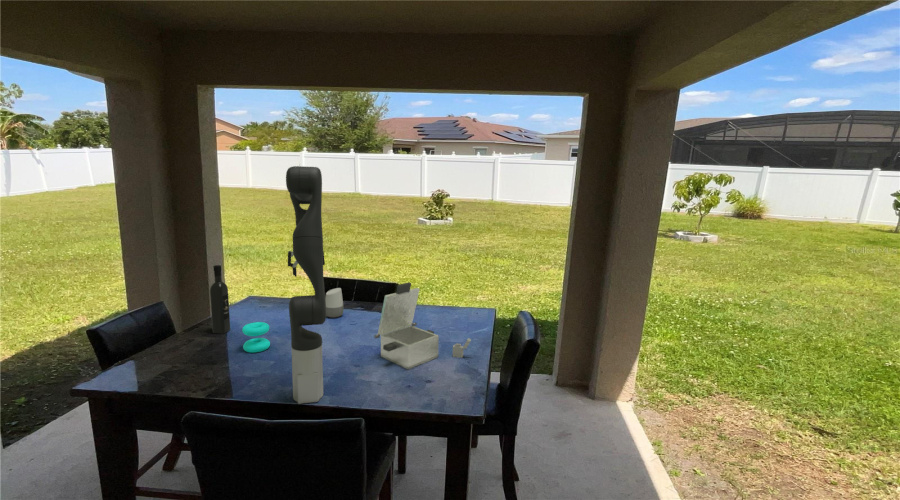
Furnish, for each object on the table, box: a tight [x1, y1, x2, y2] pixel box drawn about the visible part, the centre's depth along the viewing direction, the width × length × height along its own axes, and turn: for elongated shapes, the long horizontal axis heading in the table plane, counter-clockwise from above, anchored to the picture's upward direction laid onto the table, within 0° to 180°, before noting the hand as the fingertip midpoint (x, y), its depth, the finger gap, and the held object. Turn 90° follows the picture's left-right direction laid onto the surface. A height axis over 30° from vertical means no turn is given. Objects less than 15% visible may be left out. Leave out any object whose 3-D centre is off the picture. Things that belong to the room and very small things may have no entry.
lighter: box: [452, 337, 472, 359], centre depth 173 cm, size 7×2×8 cm, turn 76°
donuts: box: [241, 321, 271, 354], centre depth 176 cm, size 10×10×10 cm
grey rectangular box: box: [373, 322, 440, 370], centre depth 172 cm, size 17×24×10 cm
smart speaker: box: [325, 287, 344, 319], centre depth 218 cm, size 10×9×14 cm
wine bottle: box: [209, 264, 231, 335], centre depth 191 cm, size 6×6×30 cm
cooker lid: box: [377, 282, 420, 336], centre depth 173 cm, size 20×17×1 cm
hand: (306, 275), depth 178 cm, fingers open, 8 cm apart
